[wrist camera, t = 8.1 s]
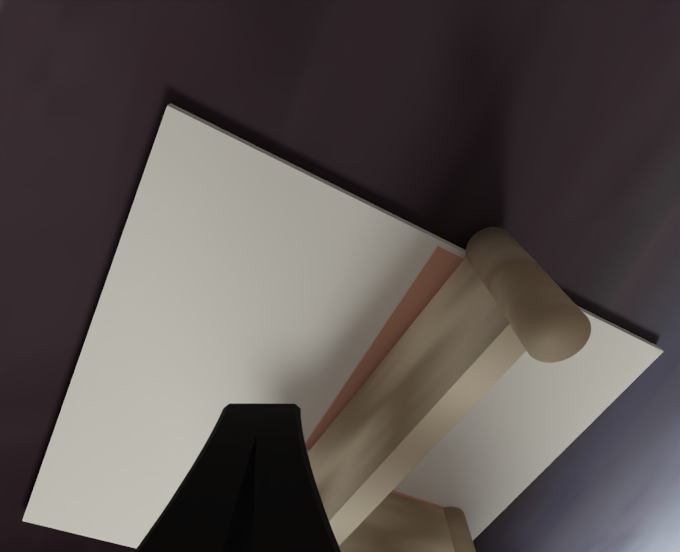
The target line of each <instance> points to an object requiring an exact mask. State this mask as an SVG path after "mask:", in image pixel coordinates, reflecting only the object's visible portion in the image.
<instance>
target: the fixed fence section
mask: <svg viewBox="0 0 680 552" xmlns="http://www.w3.org/2000/svg"><path fill="white" fill-rule="evenodd" d="M339 548H340V550H341V552H476V550H475V547H474V543H473V540H472V537H471V534H470V531H469V527H468V524H467V521H466V518H465V515H464V512H463V511H462V510H461V509H460V508H457V507H445V508H444V509H442V508H438V507H435V506H432V505H429V504H426V503H423V502H420V501H416V500H413V499H410V498H407V497H404V496H401V495H398V494H394V493H391V492H390V493H389V494H388V495H387V497H386V498H385V499H384V500H383V501H382V502H381V503H380V504H379V505H378V506H377V507H376V508H375V509H374V510H373V511H372V512H371V513H370V514H369V515H368V516H367V517H366V518H365V519H364V521H363V522H362V523H361V524H360V525H359V526H358V527H357V528H356V529H355V530H354V531H353V532H352V533H351V534H350V535H349V536H348V537H347V538H346V539H345V540H344V541H343V542H342V543H341V544H340V546H339Z"/></svg>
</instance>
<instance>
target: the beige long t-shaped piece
mask: <svg viewBox="0 0 680 552" xmlns="http://www.w3.org/2000/svg"><path fill="white" fill-rule="evenodd" d="M590 333H591V324H590V321H589V319H588V317H587V316H586V315H585V314H584V313H583V312H582V311H581V310H580V308H579V307H578V306H577V305H576V304H575V303H574V302H573V301H572V300H571V299H570V298H569V297H568V296H567V295H566V294H565V292H564V291H563V290H562V289H561V288H560V287H559V286H558V285H557V284H556V283H555V282H554V281H553V280H552V279H551V277H550V276H549V275H548V274H547V273H546V272H545V271H544V270H543V269H542V268H541V267H540V266H539V265H538V264H537V263H536V261H535V260H534V259H533V258H532V257H531V256H530V255H529V254H528V253H527V252H526V251H525V250H524V249H523V248H522V247H521V245H520V244H519V243H518V242H517V241H516V240H515V239H514V238H513V237H512V236H511V235H510V234H509V233H508V232H507V231H506V230H504V229H502V228H500V227H487V228H484V229H482V230H480V231H478V232H477V233H475V234H474V235H473V236H472V237H471V239H470V240H469V242H468V244H467V246H466V258H465V259H464V260H463V261H462V263H461V264H460V265H459V266H458V267H457V269H456V270H455V271H454V272H453V274H452V275H451V276H450V277H449V279H448V280H447V281H446V282H445V284H444V285H443V286H442V287H441V289H440V290H439V291H438V292H437V293H436V295H435V296H434V297H433V298H432V300H431V301H430V302H429V303H428V305H427V306H426V307H425V308H424V310H423V311H422V312H421V313H420V315H419V316H418V317H417V318H416V319H415V321H414V322H413V323H412V324H411V326H410V327H409V328H408V329H407V331H406V332H405V333H404V334H403V336H402V337H401V338H400V339H399V341H398V342H397V343H396V344H395V345H394V347H393V348H392V349H391V350H390V352H389V353H388V354H387V355H386V357H385V358H384V359H383V360H382V362H381V363H380V364H379V365H378V367H377V368H376V369H375V370H374V371H373V373H372V374H371V375H370V376H369V378H368V379H367V380H366V381H365V383H364V384H363V385H362V386H361V388H360V389H359V390H358V391H357V393H356V394H355V395H354V396H353V397H352V399H351V400H350V401H349V402H348V404H347V405H346V406H345V407H344V409H343V410H342V411H341V412H340V414H339V415H338V416H337V417H336V419H335V420H334V421H333V422H332V423H331V425H330V426H329V427H328V428H327V430H326V431H325V432H324V433H323V435H322V436H321V437H320V438H319V440H318V441H317V442H316V443H315V445H314V446H313V447H312V448H311V449H310V451H309V452H308V457H309V461H310V465H311V468H312V472H313V475H314V479H315V482H316V485H317V488H318V491H319V494H320V497H321V500H322V503H323V506H324V509H325V512H326V514H327V517H328V520H329V522H330V525H331V528H332V530H333V533H334V536H335V538H336V540H337V543H338V545H339V546H340V544H341V543H342V542H343V541H344V540H345V539H346V538H347V537H348V536H349V535H350V534H351V533H352V532H353V531H354V530H355V529H356V528H357V527H358V526H359V525H360V524H361V523H362V522H363V521H364V519H365V518H366V517H367V516H368V515H369V514H370V513H371V512H372V511H373V510H374V509H375V508H376V507H377V506H378V505H379V504H380V503H381V502H382V501H383V500H384V499H385V498H386V497H387V495H388V494H389V493H390V492H391V491H392V490H393V489H394V488H395V487H396V486H397V485H398V484H399V483H400V482H401V481H402V480H403V479H404V478H405V477H406V476H407V475H408V474H409V473H410V472H411V470H412V469H413V468H414V467H415V466H416V465H417V464H418V463H419V462H420V461H421V460H422V459H423V458H424V457H425V456H426V455H427V454H428V453H429V452H430V451H431V450H432V449H433V448H434V447H435V445H436V444H437V443H438V442H439V441H440V440H441V439H442V438H443V437H444V436H445V435H446V434H447V433H448V432H449V431H450V430H451V429H452V428H453V427H454V426H455V425H456V424H457V423H458V421H459V420H460V419H461V418H462V417H463V416H464V415H465V414H466V413H467V412H468V411H469V410H470V409H471V408H472V407H473V406H474V405H475V404H476V403H477V402H478V401H479V400H480V399H481V398H482V396H483V395H484V394H485V393H486V392H487V391H488V390H489V389H490V388H491V387H492V386H493V385H494V384H495V383H496V382H497V381H498V380H499V379H500V378H501V377H502V376H503V375H504V374H505V373H506V371H507V370H508V369H509V368H510V367H511V366H512V365H513V364H514V363H515V362H516V361H517V360H518V359H519V358H520V357H521V356H522V355H523V354H524V353H525V352H526V351H527V352H528V354H529V355H530V356H531V357H532V358H534V359H536V360H538V361H541V362H546V363H553V362H559V361H563V360H565V359H568V358H570V357H572V356H573V355H575V354H576V353H578V352H579V351H580V350H581V349H582V348H583V347H584V346H585V344H586V343H587V341H588V339H589V337H590Z"/></svg>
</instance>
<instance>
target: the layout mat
mask: <svg viewBox="0 0 680 552" xmlns="http://www.w3.org/2000/svg"><path fill="white" fill-rule="evenodd" d="M465 258H466V250H465V249H463V248H461V247H459V246H456V245H454V244H452V243H450V242H448V241H446V240H444V239H442V238H440V237H438V236H436V235H434V234H432V233H430V232H428V231H426V230H424V229H422V228H420V227H418V226H416V225H414V224H412V223H410V222H408V221H406V220H404V219H402V218H400V217H398V216H396V215H394V214H392V213H390V212H388V211H386V210H384V209H382V208H380V207H378V206H376V205H374V204H372V203H370V202H368V201H366V200H364V199H362V198H360V197H358V196H356V195H354V194H352V193H350V192H348V191H346V190H344V189H342V188H340V187H338V186H336V185H334V184H332V183H330V182H328V181H326V180H324V179H322V178H320V177H318V176H316V175H314V174H312V173H310V172H308V171H306V170H304V169H302V168H300V167H298V166H296V165H294V164H292V163H290V162H288V161H286V160H284V159H282V158H280V157H278V156H276V155H274V154H272V153H270V152H268V151H266V150H264V149H262V148H260V147H258V146H256V145H254V144H252V143H250V142H248V141H246V140H244V139H242V138H240V137H238V136H236V135H234V134H232V133H230V132H228V131H226V130H224V129H222V128H220V127H218V126H216V125H214V124H212V123H210V122H208V121H206V120H204V119H201V118H199V117H197V116H195V115H193V114H191V113H189V112H187V111H185V110H183V109H181V108H179V107H177V106H175V105H173V104H171V103H170V104H169V105H167V107H166V110H165V113H164V116H163V119H162V121H161V124H160V127H159V130H158V133H157V136H156V139H155V141H154V144H153V147H152V150H151V153H150V156H149V159H148V162H147V164H146V167H145V170H144V173H143V176H142V179H141V182H140V184H139V187H138V190H137V193H136V196H135V199H134V202H133V205H132V207H131V210H130V213H129V216H128V219H127V222H126V225H125V228H124V230H123V233H122V236H121V239H120V242H119V245H118V248H117V250H116V253H115V256H114V259H113V262H112V265H111V268H110V271H109V273H108V276H107V279H106V282H105V285H104V288H103V291H102V293H101V296H100V299H99V302H98V305H97V308H96V311H95V314H94V316H93V319H92V322H91V325H90V328H89V331H88V334H87V336H86V339H85V342H84V345H83V348H82V351H81V354H80V357H79V359H78V362H77V365H76V368H75V371H74V374H73V377H72V379H71V382H70V385H69V388H68V391H67V394H66V397H65V400H64V402H63V405H62V408H61V411H60V414H59V417H58V420H57V422H56V425H55V428H54V431H53V434H52V437H51V440H50V443H49V445H48V448H47V451H46V454H45V457H44V460H43V463H42V465H41V468H40V471H39V474H38V477H37V480H36V483H35V486H34V488H33V491H32V494H31V497H30V500H29V503H28V506H27V508H26V511H25V514H24V517H23V520H22V521H25V522H29V523H33V524H37V525H41V526H46V527H50V528H54V529H58V530H62V531H66V532H70V533H74V534H79V535H83V536H87V537H91V538H95V539H99V540H103V541H107V542H112V543H116V544H120V545H124V546H128V547H132V548H136V549H137V547H138V546H139V544H140V543H141V542H142V540H143V539H144V537H145V536H146V535H147V533H148V532H149V530H150V529H151V528H152V526H153V525H154V523H155V522H156V521H157V519H158V518H159V516H160V515H161V514H162V512H163V511H164V509H165V508H166V506H167V505H168V503H169V502H170V500H171V499H172V497H173V495H174V494H175V492H176V491H177V489H178V488H179V486H180V484H181V483H182V481H183V480H184V478H185V477H186V475H187V473H188V472H189V470H190V469H191V467H192V466H193V464H194V462H195V460H196V459H197V457H198V455H199V454H200V452H201V450H202V449H203V447H204V445H205V443H206V442H207V440H208V438H209V436H210V434H211V432H212V431H213V429H214V427H215V425H216V423H217V421H218V419H219V417H220V415H221V413H222V410H223V408H224V407H226V406H227V405H228V404H296V405H297V406H298V407H299V408H301V422H302V430H303V435H304V440H305V445H306V449H307V453H308V452H309V451H310V449H311V448H312V447H313V446H314V445H315V443H316V442H317V441H318V440H319V438H320V437H321V436H322V435H323V433H324V432H325V431H326V430H327V428H328V427H329V426H330V425H331V423H332V422H333V421H334V420H335V419H336V417H337V416H338V415H339V414H340V412H341V411H342V410H343V409H344V407H345V406H346V405H347V404H348V402H349V401H350V400H351V399H352V397H353V396H354V395H355V394H356V393H357V391H358V390H359V389H360V388H361V386H362V385H363V384H364V383H365V381H366V380H367V379H368V378H369V376H370V375H371V374H372V373H373V371H374V370H375V369H376V368H377V367H378V365H379V364H380V363H381V362H382V360H383V359H384V358H385V357H386V355H387V354H388V353H389V352H390V350H391V349H392V348H393V347H394V345H395V344H396V343H397V342H398V341H399V339H400V338H401V337H402V336H403V334H404V333H405V332H406V331H407V329H408V328H409V327H410V326H411V324H412V323H413V322H414V321H415V319H416V318H417V317H418V316H419V315H420V313H421V312H422V311H423V310H424V308H425V307H426V306H427V305H428V303H429V302H430V301H431V300H432V298H433V297H434V296H435V295H436V293H437V292H438V291H439V290H440V289H441V287H442V286H443V285H444V284H445V282H446V281H447V280H448V279H449V277H450V276H451V275H452V274H453V272H454V271H455V270H456V269H457V267H458V266H459V265H460V264H461V263H462V261H463V260H464V259H465ZM578 307H579V306H578ZM579 308H580V310H581V311H582V312H583V313H584V314H585V315H586V316H587V317H588V319H589V321H590V324H591V333H590V337H589V339H588V341H587V343H586V344H585V346H584V347H583V348H582V349H581V350H580V351H579V352H578V353H576V354H575V355H573V356H572V357H570V358H568V359H565V360H563V361H559V362H553V363H546V362H541V361H538V360H536V359H534V358H532V357H531V356H530V355H529V354H528V352H527V351H526V352H525V353H524V354H523V355H522V356H521V357H520V358H519V359H518V360H517V361H516V362H515V363H514V364H513V365H512V366H511V367H510V368H509V369H508V370H507V371H506V373H505V374H504V375H503V376H502V377H501V378H500V379H499V380H498V381H497V382H496V383H495V384H494V385H493V386H492V387H491V388H490V389H489V390H488V391H487V392H486V393H485V394H484V395H483V396H482V398H481V399H480V400H479V401H478V402H477V403H476V404H475V405H474V406H473V407H472V408H471V409H470V410H469V411H468V412H467V413H466V414H465V415H464V416H463V417H462V418H461V419H460V420H459V421H458V423H457V424H456V425H455V426H454V427H453V428H452V429H451V430H450V431H449V432H448V433H447V434H446V435H445V436H444V437H443V438H442V439H441V440H440V441H439V442H438V443H437V444H436V445H435V447H434V448H433V449H432V450H431V451H430V452H429V453H428V454H427V455H426V456H425V457H424V458H423V459H422V460H421V461H420V462H419V463H418V464H417V465H416V466H415V467H414V468H413V469H412V470H411V472H410V473H409V474H408V475H407V476H406V477H405V478H404V479H403V480H402V481H401V482H400V483H399V484H398V485H397V486H396V487H395V488H394V489H393V490H392V491H391V493H394V494H398V495H401V496H404V497H407V498H410V499H413V500H416V501H420V502H423V503H426V504H429V505H432V506H435V507H438V508H442V509H444V508H445V507H457V508H460V509H461V510H462V511H463V512H464V515H465V518H466V521H467V524H468V527H469V531H470V534H471V537H472V540H474V539H475V538H476V537H477V536H478V535H479V534H480V533H481V532H482V531H483V530H484V529H485V528H486V527H487V526H488V525H489V524H490V523H491V522H492V521H493V520H494V519H495V518H496V517H497V516H498V515H499V514H500V513H501V512H502V511H503V510H504V509H505V508H506V507H507V506H508V505H509V504H510V503H511V502H512V501H513V500H514V499H515V498H516V497H517V496H518V495H519V494H520V493H522V492H523V491H524V490H525V489H526V488H527V487H528V486H529V485H530V484H531V483H532V482H533V481H534V480H535V479H536V478H537V477H538V476H539V475H540V474H541V473H542V472H543V471H544V470H545V469H546V468H547V467H548V466H549V465H550V464H551V463H552V462H553V461H554V460H555V459H556V458H557V457H558V456H559V455H560V454H561V453H562V452H563V451H564V450H565V449H566V448H567V447H568V446H569V445H570V444H571V443H572V442H573V441H574V440H575V439H576V438H577V437H578V436H579V435H580V434H581V433H582V432H583V431H584V430H585V429H586V428H587V427H588V426H589V425H590V424H591V423H592V422H593V421H594V420H595V419H596V418H597V417H598V416H599V415H600V414H601V413H602V412H603V411H604V410H605V409H606V408H607V407H608V406H609V405H610V404H611V403H612V402H613V401H614V400H615V399H616V398H617V397H618V396H619V395H620V394H621V393H622V392H623V391H624V390H625V389H626V388H627V387H628V386H629V385H630V384H631V383H632V382H633V381H634V380H635V379H636V378H637V377H638V376H639V375H640V374H641V373H642V372H643V371H644V370H645V369H646V368H647V367H648V366H649V365H650V364H651V363H652V362H653V361H654V360H655V359H656V358H657V357H658V356H659V355H660V354H661V353H662V352H663V350H661V349H660V348H659V347H658V346H657V345H655V344H653V343H651V342H649V341H647V340H645V339H643V338H641V337H639V336H637V335H635V334H633V333H631V332H629V331H627V330H625V329H623V328H621V327H619V326H617V325H615V324H613V323H611V322H609V321H607V320H605V319H603V318H601V317H599V316H597V315H595V314H593V313H591V312H589V311H587V310H585V309H583V308H581V307H579Z"/></svg>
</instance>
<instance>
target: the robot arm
mask: <svg viewBox="0 0 680 552" xmlns="http://www.w3.org/2000/svg"><path fill="white" fill-rule="evenodd" d="M134 552H341V550H340V548H339V545H338V543H337V540H336V538H335V536H334V533H333V530H332V528H331V525H330V522H329V520H328V517H327V514H326V512H325V509H324V506H323V503H322V500H321V497H320V494H319V491H318V488H317V485H316V482H315V479H314V475H313V472H312V468H311V465H310V461H309V457H308V453H307V449H306V445H305V440H304V435H303V430H302V422H301V408H299V407H298V406H297V405H296V404H228V405H227V406H226V407H224V408H223V410H222V413H221V415H220V417H219V419H218V421H217V423H216V425H215V427H214V429H213V431H212V432H211V434H210V436H209V438H208V440H207V442H206V443H205V445H204V447H203V449H202V450H201V452H200V454H199V455H198V457H197V459H196V460H195V462H194V464H193V466H192V467H191V469H190V470H189V472H188V473H187V475H186V477H185V478H184V480H183V481H182V483H181V484H180V486H179V488H178V489H177V491H176V492H175V494H174V495H173V497H172V499H171V500H170V502H169V503H168V505H167V506H166V508H165V509H164V511H163V512H162V514H161V515H160V516H159V518H158V519H157V521H156V522H155V523H154V525H153V526H152V528H151V529H150V530H149V532H148V533H147V535H146V536H145V537H144V539H143V540H142V542H141V543H140V544H139V546H138V547H137V549H136V550H135V551H134Z"/></svg>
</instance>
